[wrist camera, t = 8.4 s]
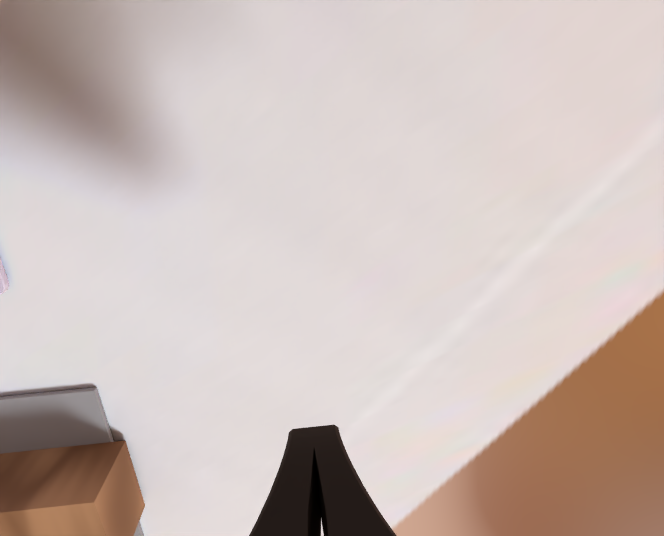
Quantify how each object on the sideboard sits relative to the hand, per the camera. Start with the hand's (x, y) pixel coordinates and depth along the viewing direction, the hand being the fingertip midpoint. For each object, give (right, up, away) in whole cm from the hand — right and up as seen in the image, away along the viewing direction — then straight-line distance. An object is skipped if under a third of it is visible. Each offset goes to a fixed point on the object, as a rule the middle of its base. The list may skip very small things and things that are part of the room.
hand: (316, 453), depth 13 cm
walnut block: (-11, -7, +11) cm, 17 cm away
